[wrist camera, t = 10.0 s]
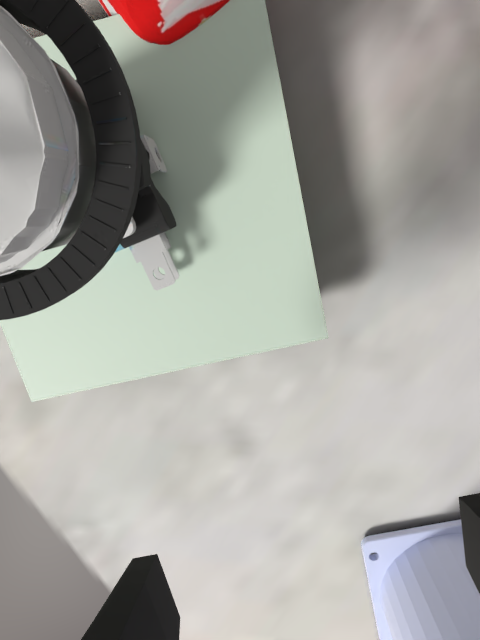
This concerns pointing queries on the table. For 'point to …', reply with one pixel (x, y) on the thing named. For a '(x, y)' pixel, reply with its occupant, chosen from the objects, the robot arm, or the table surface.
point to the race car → (162, 16)
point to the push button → (71, 161)
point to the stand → (191, 221)
